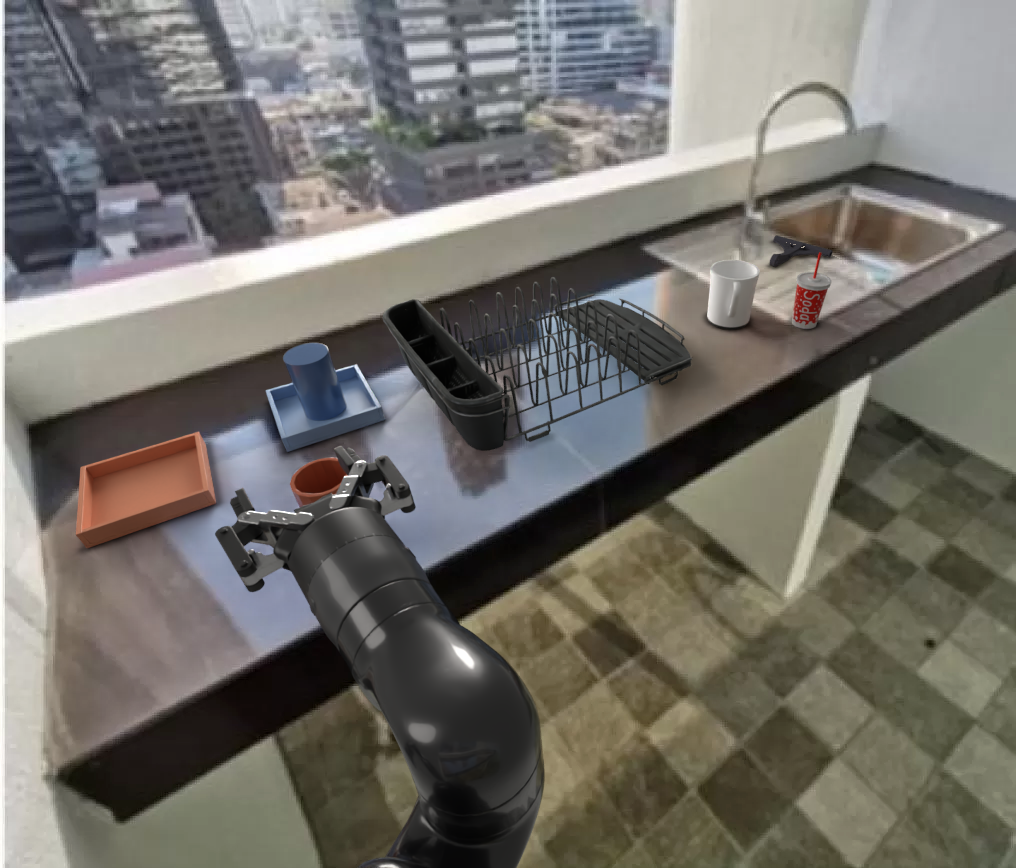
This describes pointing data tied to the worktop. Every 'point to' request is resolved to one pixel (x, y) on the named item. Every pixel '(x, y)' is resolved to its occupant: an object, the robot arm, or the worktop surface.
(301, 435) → the blue tray
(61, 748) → the worktop surface
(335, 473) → the terracotta cup
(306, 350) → the blue upright cylinder
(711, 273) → the mug
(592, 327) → the dish rack
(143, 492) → the terracotta tray
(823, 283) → the beverage cup
